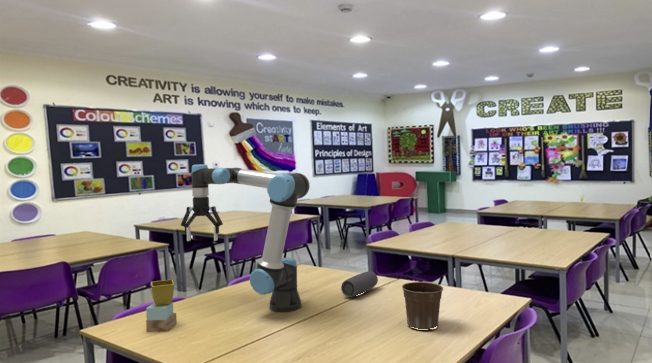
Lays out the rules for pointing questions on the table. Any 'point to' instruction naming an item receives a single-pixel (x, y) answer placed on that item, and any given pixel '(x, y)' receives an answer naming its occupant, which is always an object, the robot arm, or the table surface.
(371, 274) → the bluetooth speaker
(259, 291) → the robot arm
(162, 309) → the tower top
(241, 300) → the table surface
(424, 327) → the plant pot
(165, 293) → the flower pot
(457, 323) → the table surface
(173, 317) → the tower base
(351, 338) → the table surface
